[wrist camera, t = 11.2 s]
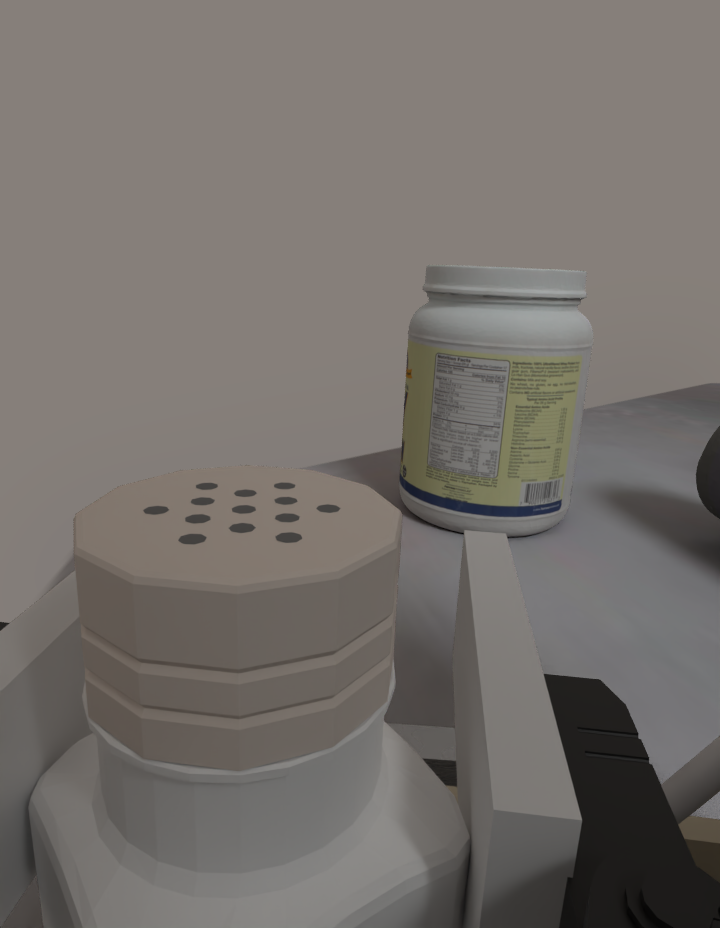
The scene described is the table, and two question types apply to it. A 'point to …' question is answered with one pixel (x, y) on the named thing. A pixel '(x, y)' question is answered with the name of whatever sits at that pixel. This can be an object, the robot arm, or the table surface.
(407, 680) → the table surface
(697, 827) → the case
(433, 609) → the table surface
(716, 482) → the bluetooth speaker
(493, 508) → the supplement tub
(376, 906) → the pepper shaker
